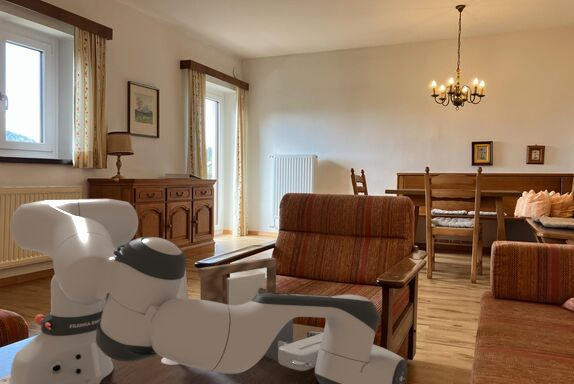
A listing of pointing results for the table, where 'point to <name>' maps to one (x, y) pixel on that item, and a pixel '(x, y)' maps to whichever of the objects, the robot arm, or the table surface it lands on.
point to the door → (245, 288)
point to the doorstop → (284, 334)
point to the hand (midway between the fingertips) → (295, 339)
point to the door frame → (216, 276)
